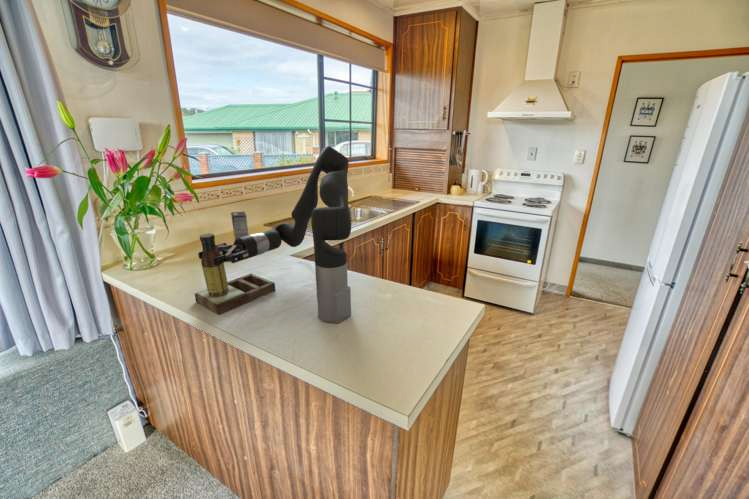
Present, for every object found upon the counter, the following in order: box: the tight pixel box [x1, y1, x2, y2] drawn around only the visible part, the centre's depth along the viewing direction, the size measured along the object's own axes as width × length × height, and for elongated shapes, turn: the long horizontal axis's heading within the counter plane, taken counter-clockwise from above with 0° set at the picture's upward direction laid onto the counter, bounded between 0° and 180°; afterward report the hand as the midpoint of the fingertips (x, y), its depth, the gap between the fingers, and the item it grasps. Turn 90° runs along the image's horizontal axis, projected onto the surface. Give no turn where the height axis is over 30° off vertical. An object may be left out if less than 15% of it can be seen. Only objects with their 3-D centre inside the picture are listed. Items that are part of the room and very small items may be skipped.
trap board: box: [194, 273, 276, 316], centre depth 116 cm, size 14×21×3 cm, turn 143°
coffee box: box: [230, 211, 249, 241], centre depth 165 cm, size 9×6×16 cm
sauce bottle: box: [199, 232, 229, 297], centre depth 107 cm, size 6×6×20 cm
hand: (206, 258), depth 105 cm, fingers open, 8 cm apart
